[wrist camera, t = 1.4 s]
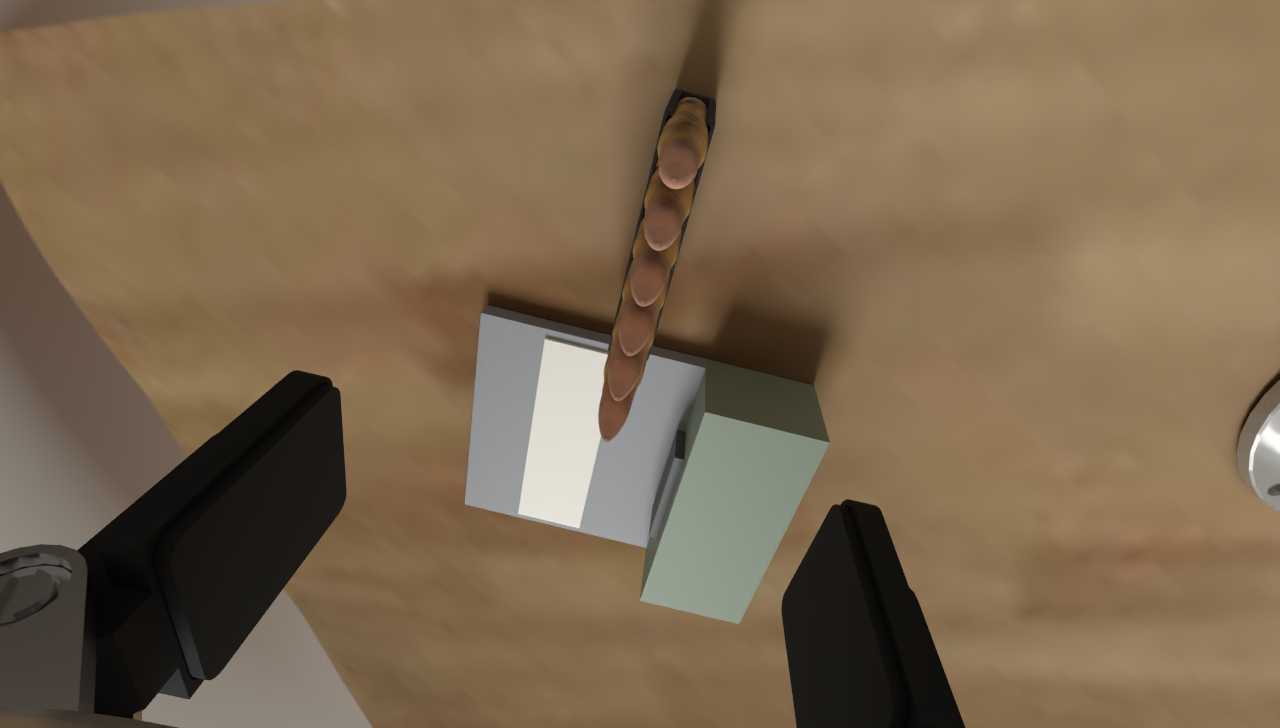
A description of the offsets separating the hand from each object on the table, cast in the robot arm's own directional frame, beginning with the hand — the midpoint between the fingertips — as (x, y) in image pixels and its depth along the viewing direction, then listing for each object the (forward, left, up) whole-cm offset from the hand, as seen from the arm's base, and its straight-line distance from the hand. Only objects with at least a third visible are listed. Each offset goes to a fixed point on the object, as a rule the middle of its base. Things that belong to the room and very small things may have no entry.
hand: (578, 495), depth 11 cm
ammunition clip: (0, 0, -19) cm, 19 cm away
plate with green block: (-1, +14, -19) cm, 24 cm away
